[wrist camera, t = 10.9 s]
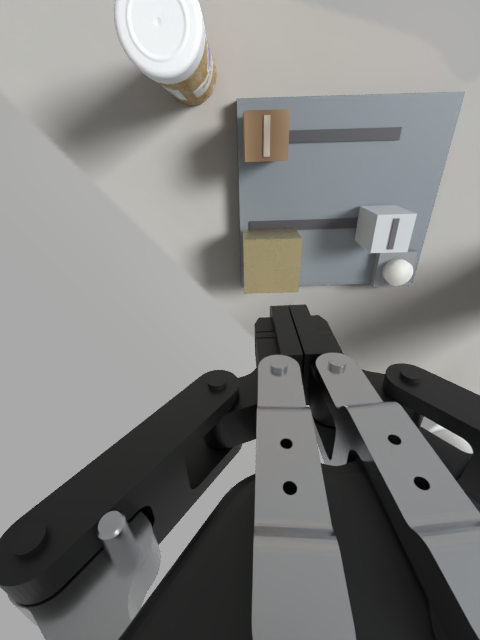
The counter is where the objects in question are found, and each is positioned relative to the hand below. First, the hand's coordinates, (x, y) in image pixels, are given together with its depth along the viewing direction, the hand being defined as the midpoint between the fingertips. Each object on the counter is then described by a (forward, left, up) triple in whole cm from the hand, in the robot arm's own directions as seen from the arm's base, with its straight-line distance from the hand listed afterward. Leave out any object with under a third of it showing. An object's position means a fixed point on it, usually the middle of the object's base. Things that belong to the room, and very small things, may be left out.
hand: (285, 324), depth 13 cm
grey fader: (-12, +1, -22) cm, 25 cm away
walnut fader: (-1, -7, -22) cm, 23 cm away
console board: (-8, -1, -23) cm, 25 cm away
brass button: (-1, +4, -21) cm, 21 cm away
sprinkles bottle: (+6, -12, -23) cm, 27 cm away
